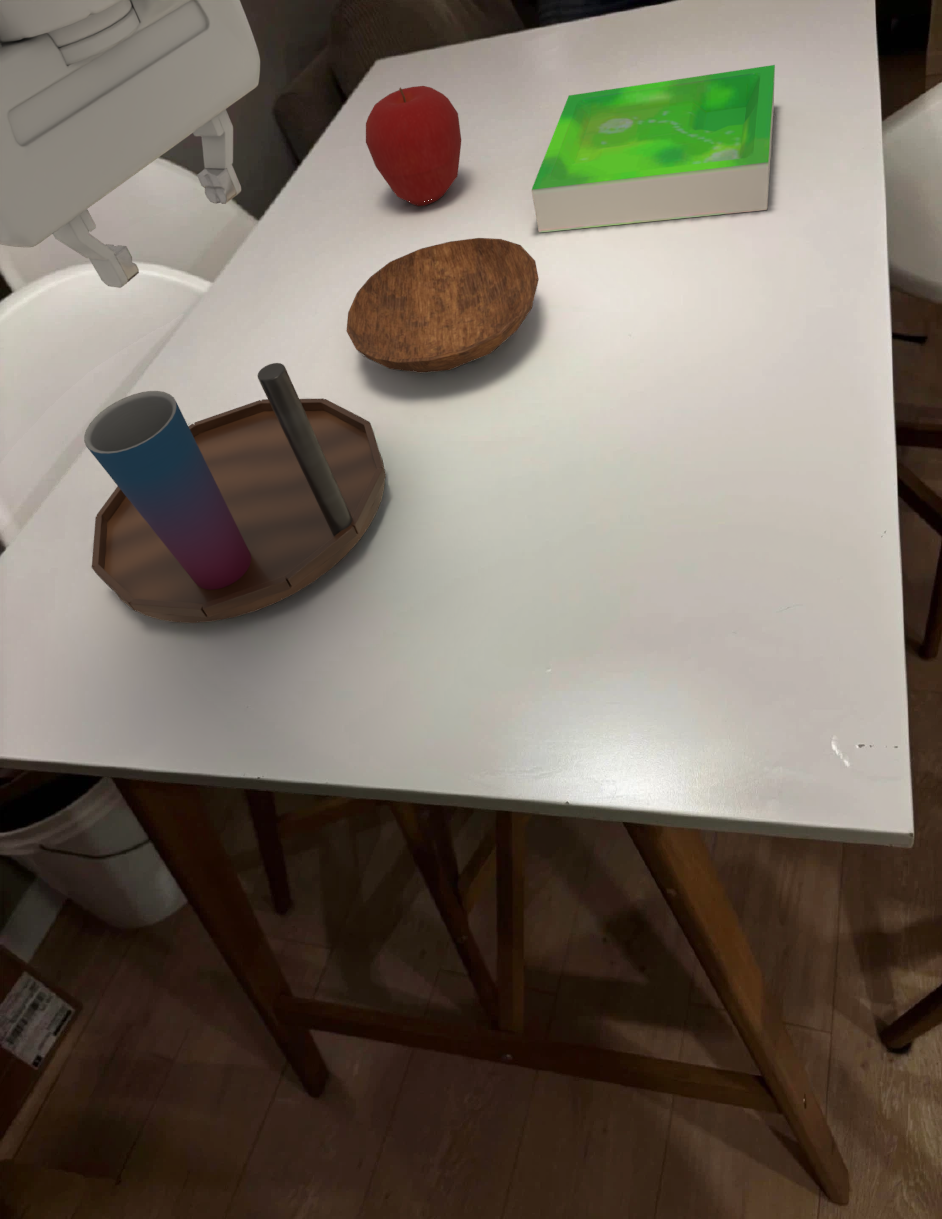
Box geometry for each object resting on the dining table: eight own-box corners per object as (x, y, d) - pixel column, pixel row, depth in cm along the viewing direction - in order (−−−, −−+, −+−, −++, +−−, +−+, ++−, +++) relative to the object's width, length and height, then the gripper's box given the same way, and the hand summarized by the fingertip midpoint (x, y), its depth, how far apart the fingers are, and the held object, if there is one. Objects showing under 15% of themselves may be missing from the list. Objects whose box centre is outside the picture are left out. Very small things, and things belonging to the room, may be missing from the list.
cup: (223, 608, 69) (125, 462, 58) (166, 584, 73) (64, 441, 62) (278, 549, 73) (195, 399, 62) (222, 528, 76) (134, 383, 65)
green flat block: (538, 232, 103) (531, 189, 99) (574, 135, 118) (568, 95, 114) (767, 209, 95) (768, 162, 91) (773, 109, 110) (774, 64, 106)
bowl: (547, 266, 97) (539, 222, 94) (545, 387, 83) (536, 341, 79) (376, 296, 101) (362, 255, 98) (346, 416, 87) (329, 374, 84)
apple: (472, 209, 110) (446, 94, 101) (382, 228, 112) (348, 117, 103) (474, 167, 118) (450, 56, 108) (390, 185, 120) (359, 79, 110)
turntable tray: (411, 557, 70) (342, 384, 58) (98, 665, 70) (-36, 514, 58) (360, 384, 87) (299, 223, 75) (111, 470, 88) (10, 323, 75)
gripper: (-92, 57, 37) (88, 344, 47) (221, -110, 47) (314, 158, 57) (-167, 62, 40) (17, 330, 50) (141, -96, 50) (243, 156, 60)
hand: (177, 237), depth 53 cm, fingers open, 8 cm apart
